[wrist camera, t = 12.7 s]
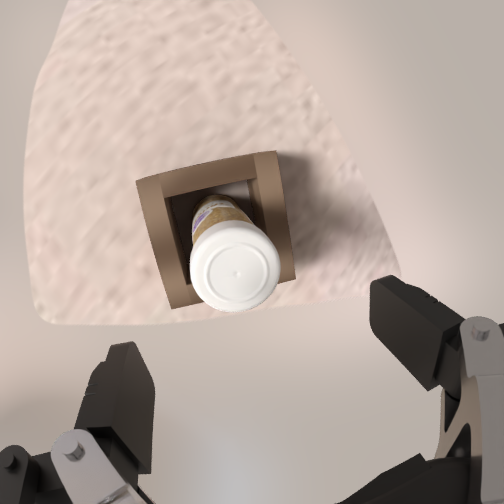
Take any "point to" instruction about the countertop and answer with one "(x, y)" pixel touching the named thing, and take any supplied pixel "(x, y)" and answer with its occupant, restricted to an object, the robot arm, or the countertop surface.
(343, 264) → the countertop surface
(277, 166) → the frame
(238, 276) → the sprinkles bottle
